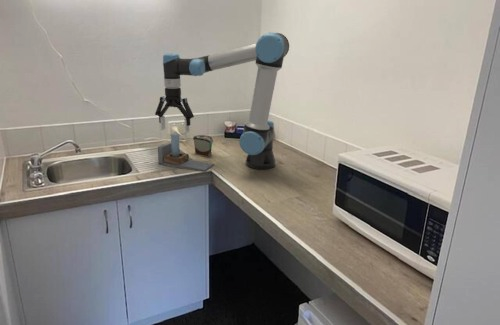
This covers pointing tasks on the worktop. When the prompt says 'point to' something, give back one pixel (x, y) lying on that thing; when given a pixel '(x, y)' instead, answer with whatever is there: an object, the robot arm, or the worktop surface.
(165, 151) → the board
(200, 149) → the food container
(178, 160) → the socket block
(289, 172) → the worktop surface
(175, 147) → the dowel
